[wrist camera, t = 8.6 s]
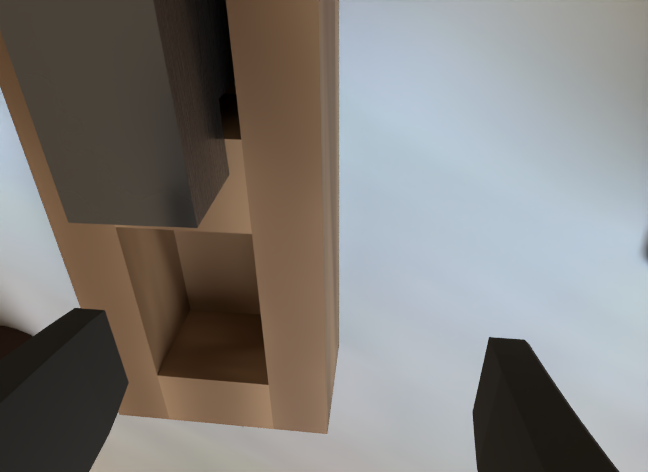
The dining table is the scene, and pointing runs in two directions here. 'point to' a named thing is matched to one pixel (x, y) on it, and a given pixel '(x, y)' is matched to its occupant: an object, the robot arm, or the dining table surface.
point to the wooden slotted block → (230, 242)
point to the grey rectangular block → (126, 103)
